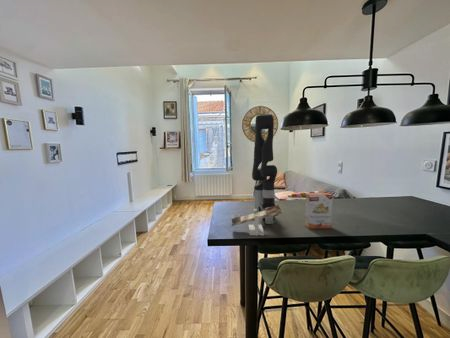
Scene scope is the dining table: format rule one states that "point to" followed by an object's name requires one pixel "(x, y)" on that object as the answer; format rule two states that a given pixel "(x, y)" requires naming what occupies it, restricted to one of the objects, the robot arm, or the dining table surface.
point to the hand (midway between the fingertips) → (268, 221)
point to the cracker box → (318, 210)
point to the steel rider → (269, 220)
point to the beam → (251, 217)
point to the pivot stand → (256, 226)
